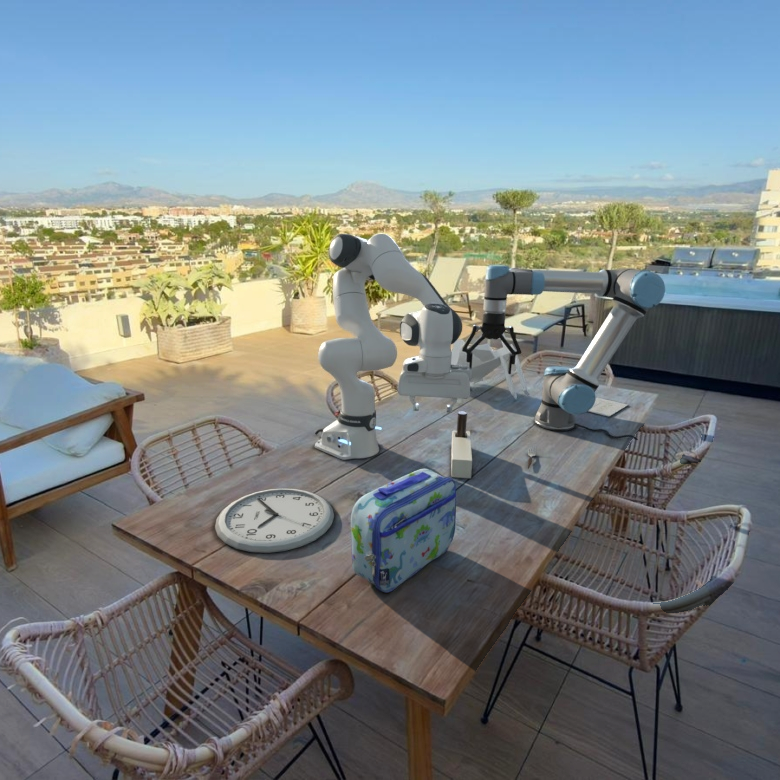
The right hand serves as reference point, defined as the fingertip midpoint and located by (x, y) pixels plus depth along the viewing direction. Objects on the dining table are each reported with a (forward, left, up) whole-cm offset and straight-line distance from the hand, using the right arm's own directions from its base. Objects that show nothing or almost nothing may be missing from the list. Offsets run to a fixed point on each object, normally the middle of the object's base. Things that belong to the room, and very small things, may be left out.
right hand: (489, 372), depth 184 cm
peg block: (+9, +22, -25) cm, 34 cm away
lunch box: (+22, +80, -25) cm, 87 cm away
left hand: (+18, +40, -1) cm, 44 cm away
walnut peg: (+9, +14, -25) cm, 30 cm away
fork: (-14, +18, -25) cm, 34 cm away
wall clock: (+57, +65, -25) cm, 90 cm away
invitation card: (-52, -43, -25) cm, 72 cm away
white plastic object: (0, -55, -25) cm, 60 cm away
